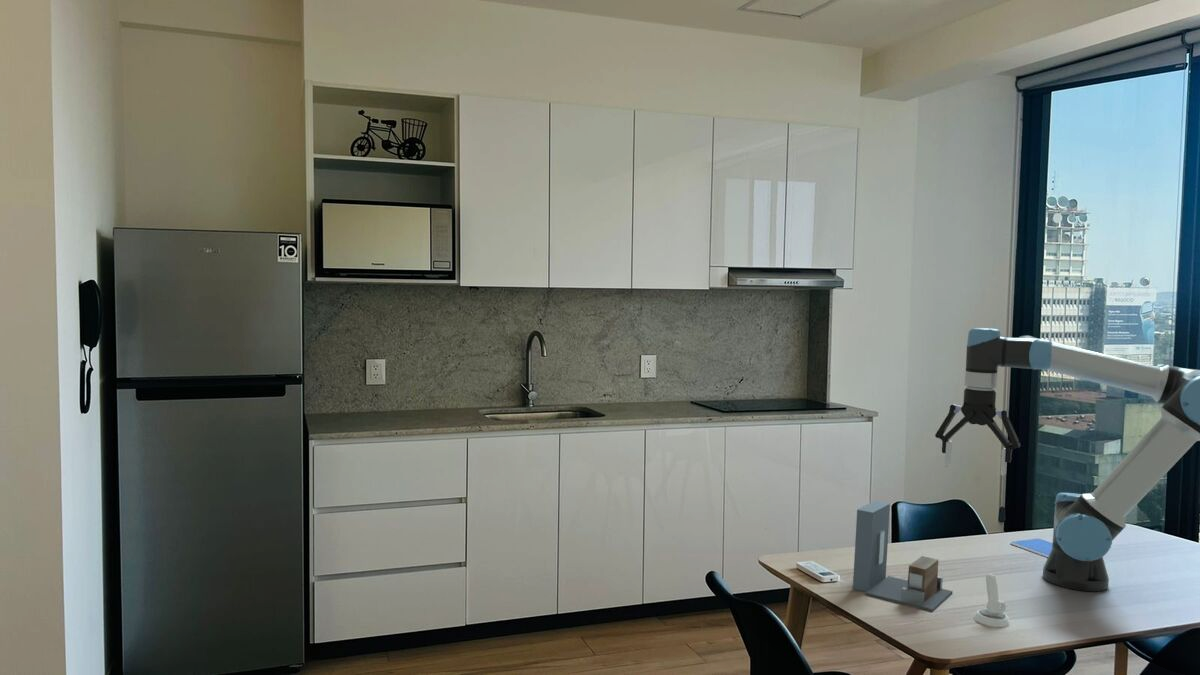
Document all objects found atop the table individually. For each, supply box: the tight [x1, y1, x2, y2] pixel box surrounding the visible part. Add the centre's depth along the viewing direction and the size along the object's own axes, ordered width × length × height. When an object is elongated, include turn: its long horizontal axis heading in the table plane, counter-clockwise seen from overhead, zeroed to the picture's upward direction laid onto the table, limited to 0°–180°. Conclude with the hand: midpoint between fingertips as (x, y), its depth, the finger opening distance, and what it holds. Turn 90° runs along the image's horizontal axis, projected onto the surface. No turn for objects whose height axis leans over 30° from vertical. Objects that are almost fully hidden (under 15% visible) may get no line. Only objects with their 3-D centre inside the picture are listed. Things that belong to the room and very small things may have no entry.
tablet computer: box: [1009, 538, 1053, 559], centre depth 256 cm, size 19×13×1 cm, turn 23°
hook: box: [972, 573, 1011, 628], centre depth 203 cm, size 8×12×7 cm
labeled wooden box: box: [907, 555, 939, 602], centre depth 214 cm, size 4×11×8 cm, turn 143°
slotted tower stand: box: [852, 500, 953, 612], centre depth 217 cm, size 20×16×20 cm
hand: (974, 470), depth 227 cm, fingers open, 13 cm apart
